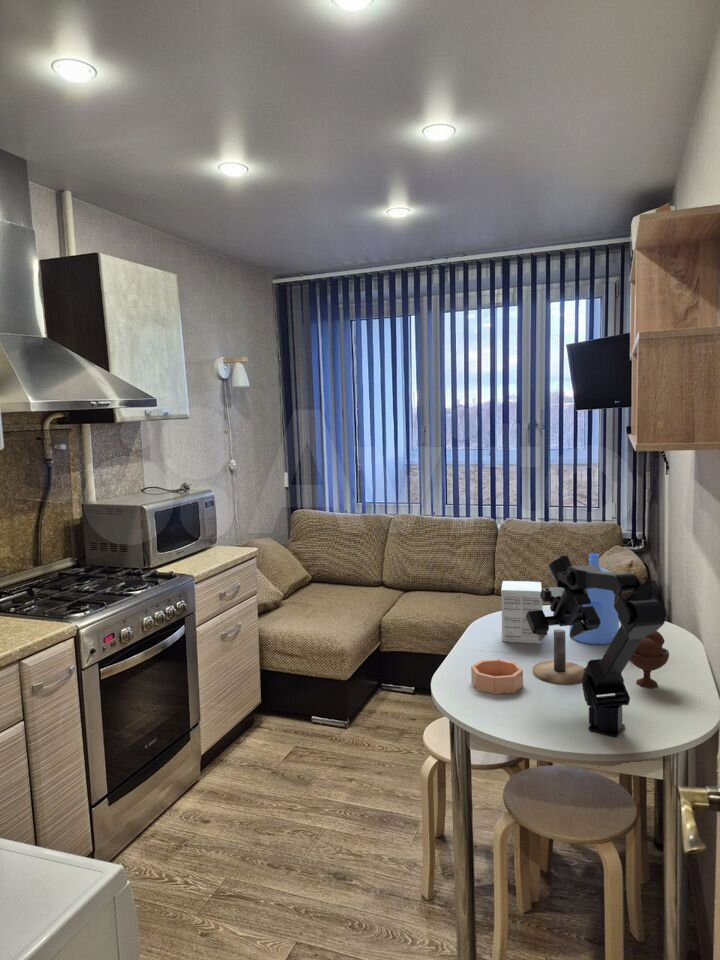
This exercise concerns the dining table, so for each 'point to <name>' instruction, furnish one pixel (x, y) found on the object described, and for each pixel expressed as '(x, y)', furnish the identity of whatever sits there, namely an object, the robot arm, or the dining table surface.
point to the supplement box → (519, 610)
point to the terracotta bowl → (497, 676)
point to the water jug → (601, 613)
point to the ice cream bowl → (650, 657)
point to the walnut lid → (559, 665)
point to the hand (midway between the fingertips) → (554, 638)
